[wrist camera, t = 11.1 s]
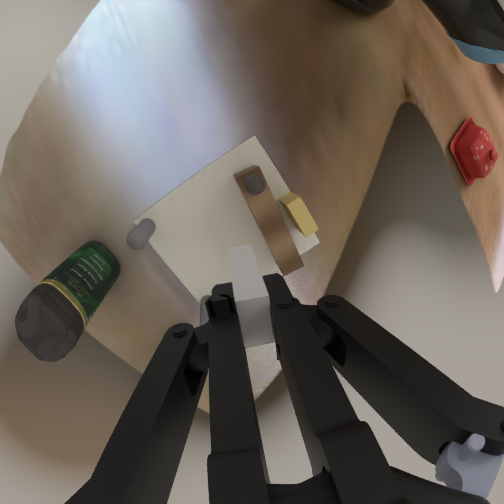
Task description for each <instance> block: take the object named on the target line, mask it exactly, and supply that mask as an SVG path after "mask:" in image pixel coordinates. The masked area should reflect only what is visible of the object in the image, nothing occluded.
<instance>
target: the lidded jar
mask: <svg viewBox="0 0 504 504" xmlns="http://www.w3.org/2000/svg"><path fill="white" fill-rule="evenodd" d="M495 65H496V67H497V69H498V70H499V71H500V72H502V73H503V74H504V63H503V64H495Z"/></svg>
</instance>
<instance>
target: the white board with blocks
mask: <svg viewBox="0 0 504 504" xmlns="http://www.w3.org/2000/svg"><path fill="white" fill-rule="evenodd" d="M252 165H256V166H259V167H260V169H261V171H262V173H263V175H264V177H265V179H266V181H267V184H268V186H269V188H270V190H271V192H272V194H273V197H274V199H275V201H276V203H277V205H278V207H279V210H280V212H281V214H282V216H283V219H284V221H285V223H286V225H287V227H288V230H289V232H290V234H291V237H292V239H293V241H294V243H295V246H296V248H297V250H298V253H299V255H302V254H303V253H305V252H306V251H308V250H309V249H311V248H312V247H314V246H315V245H317V244H318V243H320V242H319V240H318V238H317V237H316V235H315V233H314V232H315V231H317V230H318V229H319V228H318V227H317V225H316V223H315V221H314V219H313V218H312V216H311V214H310V212H309V211H308V209H307V207H306V205H305V204H304V202H303V200H302V199H301V197H300V196H298V195H297V194H295V193H293V192H291V191H290V190H289V189H288V187H287V185H286V184H285V182H284V180H283V179H282V177H281V175H280V174H279V172H278V171H277V169H276V167H275V166H274V164H273V163H272V161H271V160H270V158H269V156H268V155H267V153H266V152H265V150H264V149H263V147H262V146H261V144H260V143H259V141H258V139H257V138H256V136H253V137H251V138H249V139H248V140H246V141H245V142H243V143H241V144H240V145H238V146H237V147H235V148H234V149H232V150H230V151H229V152H227V153H226V154H224V155H223V156H221V157H220V158H218V159H217V160H215V161H214V162H212V163H211V164H209V165H208V166H206V167H205V168H204V169H202V170H201V171H199V172H198V173H196V174H195V175H194V176H192V177H191V178H189V179H188V180H187V181H185V182H184V183H182V184H181V185H180V186H178V187H177V188H176V189H174V190H173V191H172V192H170V193H169V194H168V195H166V196H165V197H164V198H162V199H161V200H160V201H158V202H157V203H156V204H154V205H153V206H152V207H151V208H149V209H148V210H147V211H146V212H144V213H143V214H142V215H141V216H139V217H138V218H137V219H136V220H135V221H134V224H135V225H136V227H135V228H134V229H133V230H132V231H131V232H130V233H129V234H128V236H127V243H128V245H129V247H130V248H132V249H134V250H140V249H142V248H143V247H144V246H145V245H146V243H147V242H149V243H150V244H151V246H152V247H153V248H154V249H155V251H156V252H157V253H158V254H159V256H160V257H161V258H162V259H163V260H164V262H165V263H166V264H167V265H168V267H169V268H170V269H171V270H172V271H173V273H174V274H175V275H176V276H177V277H178V279H179V280H180V281H181V282H182V283H183V284H184V286H185V287H186V288H187V289H188V290H189V291H190V293H191V294H192V295H193V296H194V297H195V298H196V300H197V301H198V302H199V303H200V326H201V325H204V324H205V323H207V322H208V321H209V317H208V313H207V310H206V306H205V301H206V299H207V298H208V297H210V296H212V289H213V287H214V286H215V285H217V284H223V283H228V282H232V277H231V270H230V262H229V254H228V248H232V247H238V246H244V245H249V244H251V247H252V249H253V252H254V255H255V258H256V261H257V263H258V266H259V269H260V272H261V275H262V276H264V275H269V274H273V273H274V272H276V271H277V270H279V267H278V265H277V264H276V262H275V260H274V258H273V256H272V254H271V251H270V249H269V247H268V245H267V243H266V241H265V239H264V237H263V235H262V233H261V231H260V229H259V227H258V225H257V223H256V221H255V219H254V217H253V215H252V213H251V210H250V208H249V206H248V204H247V202H246V200H245V198H244V196H243V194H242V192H241V190H240V188H239V186H238V184H237V182H236V180H235V178H234V176H233V175H234V174H236V173H238V172H240V171H242V170H244V169H246V168H248V167H250V166H252Z"/></svg>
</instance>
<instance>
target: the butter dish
mask: <svg viewBox="0 0 504 504" xmlns="http://www.w3.org/2000/svg"><path fill="white" fill-rule="evenodd" d="M450 149H451V152H452V154H453V156H454V158H455V160H456V162H457V164H458V166H459V168H460V170H461V172H462V174H463V176H464V179H465V181H466V183H467V184H468V186H471V185H472V183H473V182H474V181H475V179H476V178H484V177H486V176H487V175H488V174H489V173H490V171H491V170H492V168H493V166H494V164H495V161H496V160H497V158H498V153H497V150H496V149H495V147H494V144H493V142H492V139H491V137H490V136H489V134H488V132H487V131H486V130H485V129H484V128H481V127H479V126H476V125H475V123H474V122H473V120H472V118H471V117H468V118H467V119H466V120H465V122H464V123H463V125H462V126H461V128H460V129H459V131H458V132H457V134H456V135H455V137H454V138H453V140H452V142H451V144H450Z"/></svg>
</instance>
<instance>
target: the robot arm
mask: <svg viewBox="0 0 504 504" xmlns="http://www.w3.org/2000/svg"><path fill="white" fill-rule="evenodd" d="M337 1H338V2H340V3H342V4H343V5H345V6H348V7H350V8H352V9H355V10H358V11H362V12H367V13H376V12H380V11H383V10H384V9H386V8H387V7H389V6H390V5H391V4H392V3H393V2H394V0H337ZM422 1H423V3H424V4H425V5H426V6H427V7H428V8H429V10H430V11H431V12H432V13H433V14H434V16H435V17H436V18H437V19H438V21H439V22H440V23H441V25H442V26H443V27H444V29H445V30H446V33H447V34H448V36H449V37H450V38H451V39H452V40H453V41H454V42H455V43H456V45H457V46H458V48H459V49H460V50H461V52H462V53H463V54H464V55H465V56H467V57H468V58H470V59H471V60H474V61H476V62H480V63H486V64H503V63H504V0H422ZM228 254H229V262H230V270H231V277H232V282H228V283H223V284H217V285H215V286H214V287H213V289H212V296H210V297H208V298H207V299H206V301H205V306H206V310H207V313H208V317H209V321H208V322H207V323H205V324H204V325H201V326H199V327H196V328H194V327H193V326H192V325H191V324H188V323H179V324H176V325H173V326H172V327H170V328H169V329H168V330H167V331H166V333H165V335H164V337H163V339H162V340H161V342H160V344H159V346H158V348H157V349H156V351H155V353H154V355H153V357H152V358H151V360H150V362H149V364H148V366H147V368H146V369H145V371H144V373H143V375H142V377H141V379H140V381H139V383H138V385H137V386H136V388H135V390H134V392H133V394H132V396H131V398H130V400H129V402H128V404H127V405H126V407H125V409H124V411H123V413H122V415H121V417H120V419H119V421H118V423H117V425H116V427H115V429H114V431H113V433H112V435H111V437H110V439H109V441H108V443H107V445H106V447H105V449H104V451H103V453H102V455H101V457H100V460H99V462H98V464H97V466H96V468H95V471H94V472H93V474H92V477H91V479H89V480H88V481H87V482H86V483H85V484H84V485H83V486H82V488H80V489H79V490H78V491H77V492H76V493H75V494H74V495H73V496H72V497H71V498H70V499H69V500H68V501H67V502H66V503H65V504H167V501H168V498H169V495H170V492H171V488H172V485H173V482H174V478H175V475H176V472H177V469H178V466H179V463H180V459H181V456H182V453H183V450H184V447H185V443H186V440H187V437H188V434H189V431H190V427H191V424H192V421H193V418H194V415H195V412H196V408H197V405H198V402H199V399H200V396H201V393H202V389H203V386H204V383H205V380H206V377H207V374H208V369H209V404H210V430H211V431H210V432H211V454H210V455H208V458H207V472H208V489H209V503H210V504H490V503H489V502H488V501H487V500H486V499H487V496H488V495H489V492H490V490H491V488H492V486H493V483H494V481H495V478H496V476H497V473H498V471H499V468H500V465H501V462H502V459H503V456H504V407H502V406H499V405H496V404H493V403H489V402H487V401H484V400H481V399H478V398H476V397H473V396H472V395H470V394H469V393H468V392H466V391H465V390H464V389H463V388H461V387H460V386H459V385H457V384H456V383H455V382H453V381H452V380H451V379H450V378H449V377H447V376H446V375H445V374H443V373H442V372H441V371H439V370H438V369H437V368H436V367H434V366H433V365H432V364H430V363H429V362H428V361H427V360H425V359H424V358H423V357H421V356H420V355H419V354H417V353H416V352H415V351H413V350H412V349H411V348H409V347H408V346H407V345H405V344H404V343H402V341H400V340H399V339H397V338H396V337H395V336H394V335H392V334H391V333H389V332H388V331H387V330H386V329H384V328H383V327H381V326H380V325H379V324H378V323H376V322H375V321H373V320H372V319H371V318H369V317H368V316H367V315H365V314H364V313H362V312H361V311H360V310H359V309H357V308H356V307H354V306H353V305H352V304H351V303H349V302H348V301H346V300H345V299H344V298H342V297H340V296H336V295H327V296H323V297H322V298H320V299H319V300H318V301H317V305H303V304H301V303H300V301H299V300H298V299H297V298H294V297H293V296H292V294H291V292H290V290H289V288H288V286H287V284H286V282H285V280H284V278H283V276H281V275H280V274H278V273H275V274H269V275H264V276H262V275H261V272H260V269H259V266H258V263H257V261H256V258H255V255H254V252H253V249H252V247H251V244H249V245H244V246H238V247H232V248H228ZM274 339H275V341H274ZM273 342H275V343H276V352H277V360H280V364H281V367H282V370H283V374H284V377H285V380H286V383H287V387H288V390H289V394H290V397H291V400H292V404H293V407H294V410H295V414H296V417H297V420H298V423H299V427H300V430H301V433H302V437H303V440H304V443H305V447H306V450H307V453H308V456H309V460H310V463H311V467H312V473H313V477H312V478H310V479H308V480H306V481H304V482H302V483H299V484H271V483H270V479H269V475H268V470H267V465H266V460H265V455H264V450H263V445H262V440H261V434H260V429H259V425H258V419H257V413H256V408H255V402H254V397H253V391H252V385H251V380H250V374H249V368H248V362H247V357H246V352H245V348H247V347H252V346H258V345H263V344H268V343H273ZM333 367H334V368H335V369H336V370H337V371H338V372H339V373H340V374H341V375H342V376H343V377H344V378H345V379H346V380H347V381H348V383H350V385H351V386H352V387H353V388H354V389H355V390H356V391H357V392H358V393H359V394H360V395H361V396H362V397H363V398H364V399H365V400H366V401H367V402H368V404H369V405H370V406H371V407H372V408H373V409H374V410H375V411H376V412H377V413H378V414H379V415H380V416H381V417H382V418H383V419H384V420H385V421H386V422H387V423H388V424H389V425H390V426H391V427H392V428H393V429H394V430H395V431H396V432H397V434H398V435H400V437H401V438H402V439H404V441H405V442H406V443H407V444H408V445H409V446H410V447H411V448H412V449H413V450H414V451H415V452H417V453H418V454H419V455H420V456H421V457H422V458H424V459H426V460H427V461H429V462H430V463H432V464H434V465H436V469H435V470H436V474H435V475H436V479H437V480H438V481H443V482H444V483H445V484H446V485H447V487H446V486H443V485H440V484H437V483H434V482H431V481H428V480H425V479H423V478H420V477H417V476H414V475H412V474H410V473H407V472H405V471H402V470H400V469H397V468H395V467H392V466H389V464H388V462H387V460H386V458H385V456H384V454H383V452H382V450H381V448H380V446H379V444H378V442H377V440H376V438H375V436H374V434H373V432H372V430H371V428H370V426H369V425H368V423H366V422H365V421H360V420H359V419H358V417H357V415H356V413H355V411H354V409H353V407H352V405H351V403H350V401H349V399H348V397H347V395H346V393H345V391H344V389H343V387H342V385H341V383H340V381H339V379H338V377H337V374H336V372H335V370H334V369H333Z"/></svg>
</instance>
